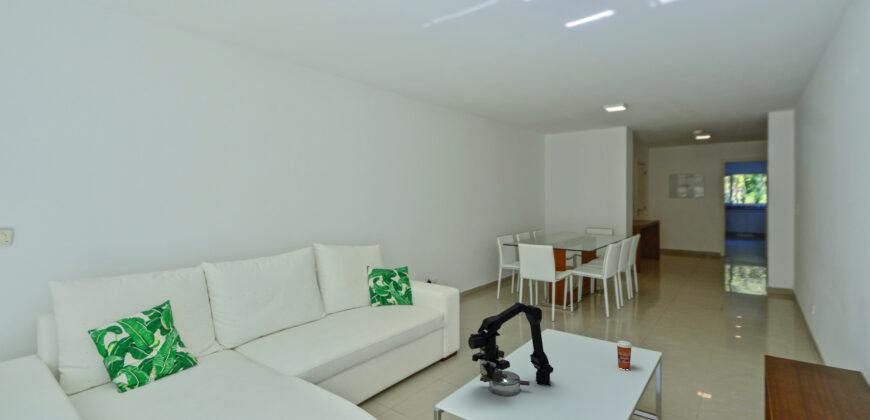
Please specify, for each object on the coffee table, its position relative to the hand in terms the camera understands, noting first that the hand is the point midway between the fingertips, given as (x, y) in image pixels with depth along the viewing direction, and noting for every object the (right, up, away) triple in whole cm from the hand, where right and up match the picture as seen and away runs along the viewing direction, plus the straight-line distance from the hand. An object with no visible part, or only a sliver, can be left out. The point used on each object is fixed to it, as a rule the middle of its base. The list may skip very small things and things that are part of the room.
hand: (491, 378), depth 194 cm
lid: (+5, -2, +5) cm, 7 cm away
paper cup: (+77, -7, +30) cm, 83 cm away
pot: (+7, -8, +6) cm, 12 cm away
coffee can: (+3, -7, +26) cm, 27 cm away
